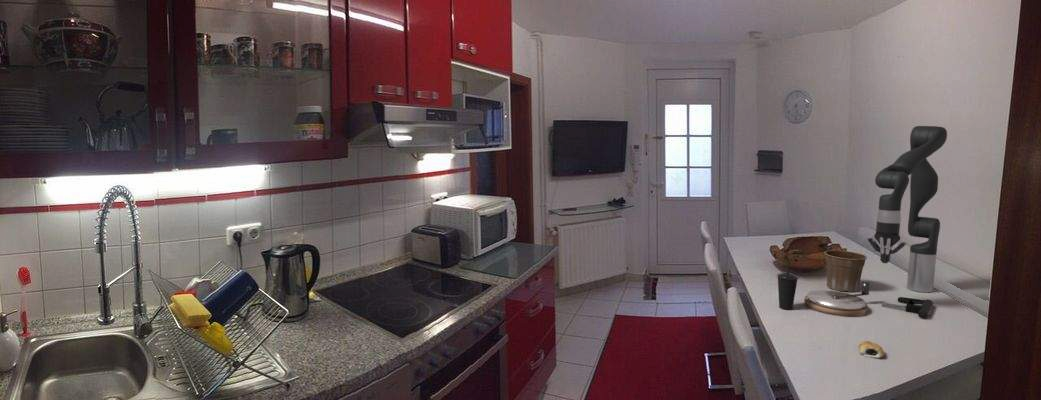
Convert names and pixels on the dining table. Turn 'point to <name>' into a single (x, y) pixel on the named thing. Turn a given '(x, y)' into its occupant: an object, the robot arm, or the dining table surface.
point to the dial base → (836, 310)
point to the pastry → (870, 350)
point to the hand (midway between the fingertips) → (884, 262)
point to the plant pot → (844, 270)
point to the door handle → (912, 306)
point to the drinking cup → (786, 289)
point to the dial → (839, 298)
